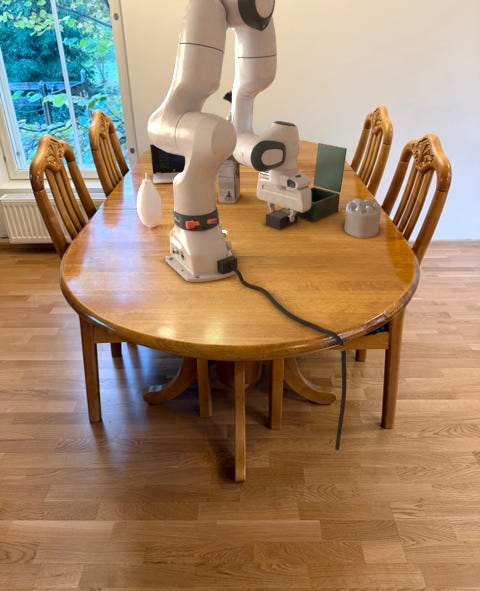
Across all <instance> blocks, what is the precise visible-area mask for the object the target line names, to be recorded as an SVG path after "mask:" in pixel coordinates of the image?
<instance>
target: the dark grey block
mask: <svg viewBox="0 0 480 591" xmlns="http://www.w3.org/2000/svg"><path fill="white" fill-rule="evenodd" d="M276 210H277V211H275V212H272V213H270V212H269V213H268V214H266V215H265V226H268V227H271V228H274V229H276V230H279V231H280V230H282V229H284V228H287V227H290V226H292V225H294V224H297V223H298V221H299V220H298V219H299V217H298V212H297V213H296V215H295V216H294V221H293V222H289V221H287V216H289V215H290V214H291V212H290V210H289V209H288V208H285V207H283V208H280V209H276Z"/></svg>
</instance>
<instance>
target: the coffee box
mask: <svg viewBox="0 0 480 591" xmlns="http://www.w3.org/2000/svg"><path fill="white" fill-rule="evenodd" d="M240 170H241V167H240V164H237V163H235V162H233V161H232V160H231V158H230V157H229V158H228V159H226V160H225V161H224V162H223V163H222V165H221V166H220V168H219V171H218V174H217V195H218V196H217V197H218V203H225V204H236V202H237V201H238V200H239V198H240V196H241V171H240Z"/></svg>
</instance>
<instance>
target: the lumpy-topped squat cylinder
mask: <svg viewBox="0 0 480 591" xmlns="http://www.w3.org/2000/svg"><path fill="white" fill-rule="evenodd" d="M381 214H382V208H381V204H379V203H378V202H375V201H373V200H372V199H362V198H361V199H360V198H355V199H353V200H350V201H348V202H346V204H345V216H344V224H343V226H344V227H343V229H344V232H345V233H347V234H348V235H350V236H352V237H355V238H359V239H367V238H369V239H370V238H372V237H374V236H377V234H379V228H380V223H381V216H382V215H381Z"/></svg>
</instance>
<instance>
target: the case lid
mask: <svg viewBox="0 0 480 591" xmlns="http://www.w3.org/2000/svg"><path fill="white" fill-rule="evenodd" d="M347 150H348V148H346V147H341V146H336V145H332V144H327V143H322V142H318V143H317V150H316V158H315V167H314V174H313V183H312V187H316V188H320V189H324V190H328V191H331V192H335V193H339V194H341V192H342V185H343V178H344V171H345V165H346V157H347Z"/></svg>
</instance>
